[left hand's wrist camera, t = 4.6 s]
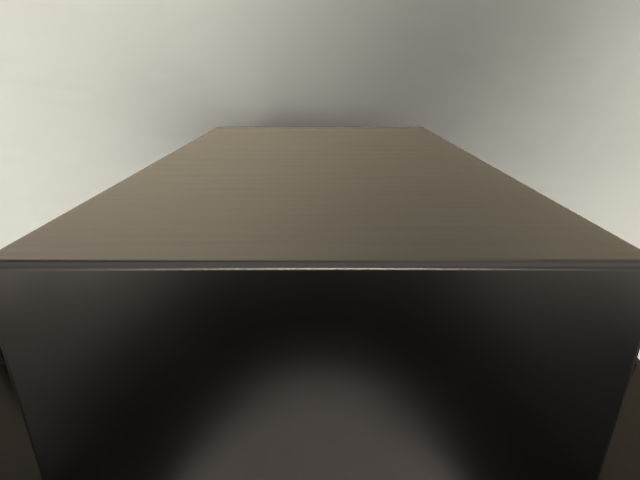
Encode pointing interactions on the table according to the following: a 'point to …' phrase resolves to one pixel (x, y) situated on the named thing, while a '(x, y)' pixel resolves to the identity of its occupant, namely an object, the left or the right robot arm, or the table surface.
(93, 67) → the table surface
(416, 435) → the box
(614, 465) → the left robot arm
